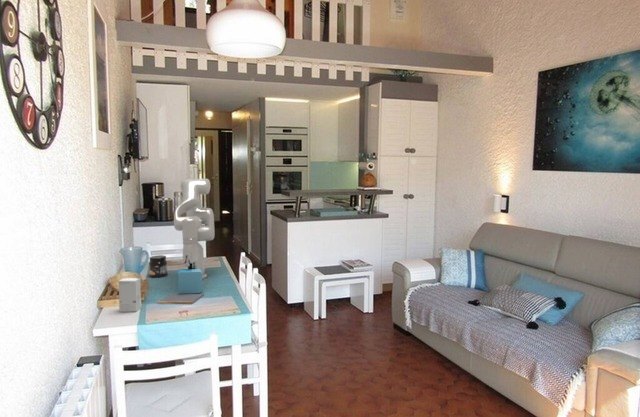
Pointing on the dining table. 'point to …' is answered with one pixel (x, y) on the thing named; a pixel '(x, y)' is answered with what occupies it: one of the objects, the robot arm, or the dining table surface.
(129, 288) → the skincare box
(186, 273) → the data package
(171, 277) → the dining table surface
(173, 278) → the dining table surface
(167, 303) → the oak strip
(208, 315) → the dining table surface
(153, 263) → the supplement container
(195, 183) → the robot arm
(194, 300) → the rubber mat
